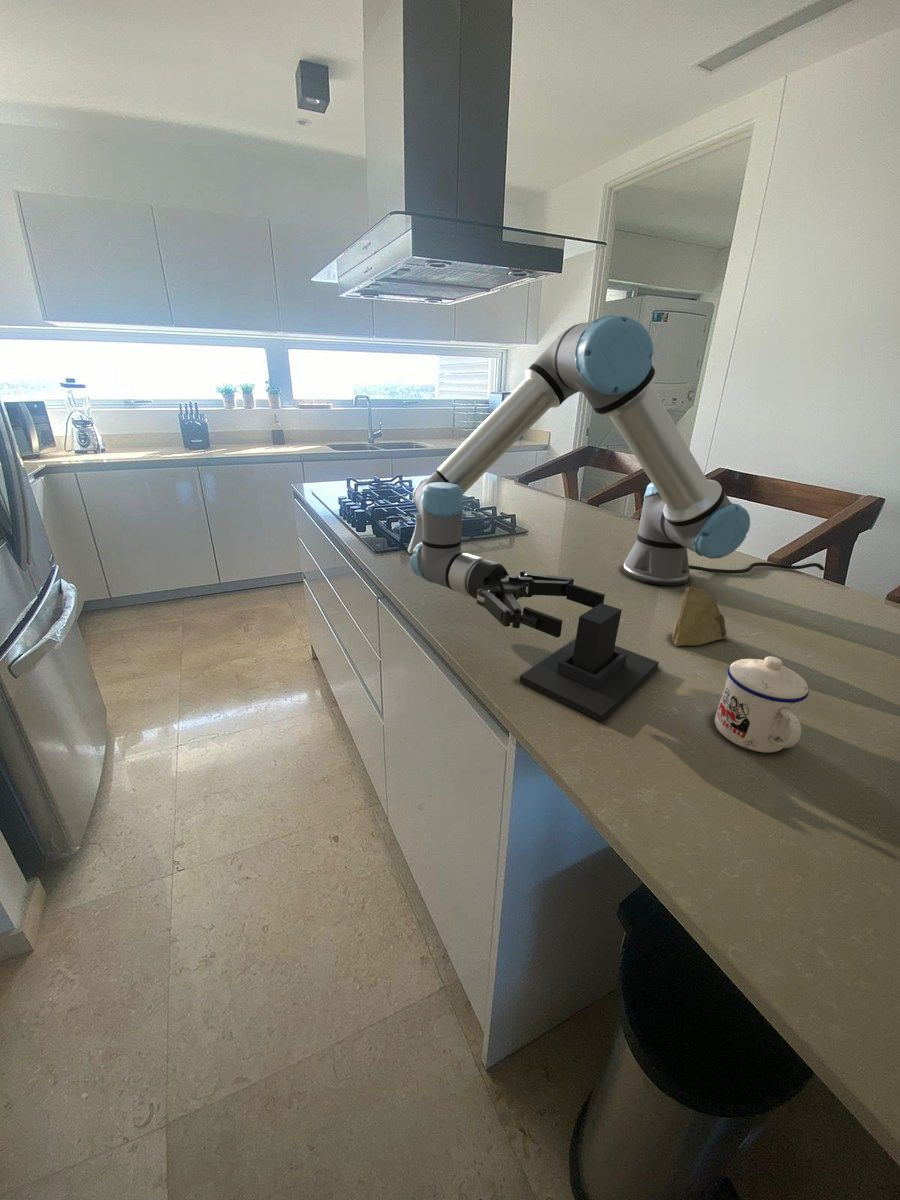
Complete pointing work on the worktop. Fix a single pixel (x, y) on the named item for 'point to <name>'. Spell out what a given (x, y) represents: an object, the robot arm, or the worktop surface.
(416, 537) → the flask
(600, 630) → the black block
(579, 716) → the worktop surface
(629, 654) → the base pad
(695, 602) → the rock
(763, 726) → the teacup with lid
